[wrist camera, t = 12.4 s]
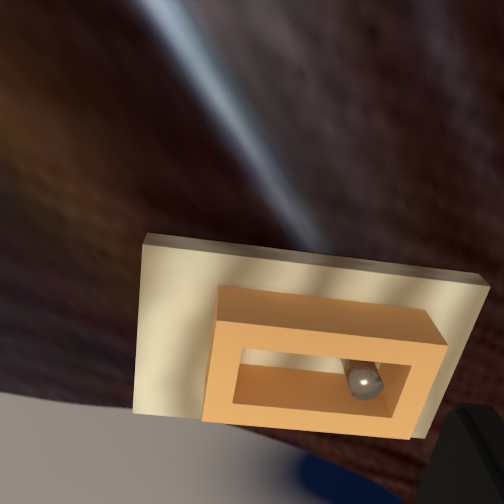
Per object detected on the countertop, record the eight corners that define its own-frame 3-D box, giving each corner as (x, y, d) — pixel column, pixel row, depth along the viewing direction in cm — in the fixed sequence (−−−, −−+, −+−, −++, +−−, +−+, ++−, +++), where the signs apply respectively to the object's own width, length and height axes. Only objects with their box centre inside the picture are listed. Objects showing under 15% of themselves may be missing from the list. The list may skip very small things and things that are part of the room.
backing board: (478, 273, 38) (490, 286, 36) (417, 421, 45) (424, 438, 43) (147, 232, 35) (142, 244, 34) (136, 396, 42) (132, 413, 40)
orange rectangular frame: (425, 309, 37) (448, 345, 33) (392, 397, 41) (409, 439, 37) (218, 285, 35) (216, 320, 31) (204, 379, 39) (201, 421, 35)
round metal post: (370, 338, 38) (387, 376, 34) (363, 361, 39) (378, 401, 35) (341, 334, 38) (354, 373, 34) (334, 358, 39) (346, 399, 35)
